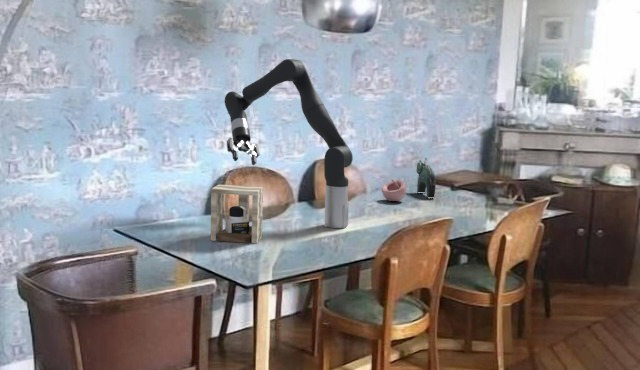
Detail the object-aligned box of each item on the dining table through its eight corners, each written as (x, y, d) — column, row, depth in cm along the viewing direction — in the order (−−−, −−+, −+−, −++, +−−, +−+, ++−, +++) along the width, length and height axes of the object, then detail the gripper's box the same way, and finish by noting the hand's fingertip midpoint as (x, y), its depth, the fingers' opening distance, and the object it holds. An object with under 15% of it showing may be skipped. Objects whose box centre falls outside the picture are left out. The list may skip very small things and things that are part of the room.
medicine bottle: (231, 241, 259) (231, 209, 257) (224, 236, 266) (225, 205, 264) (249, 239, 263) (249, 208, 261) (242, 235, 269) (243, 204, 267)
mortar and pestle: (376, 200, 347) (377, 178, 345) (392, 198, 355) (393, 176, 353) (394, 205, 338) (395, 181, 336) (410, 202, 346) (411, 179, 344)
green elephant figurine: (414, 192, 374) (416, 155, 370) (425, 192, 375) (427, 155, 372) (426, 199, 355) (428, 160, 351) (438, 199, 356) (440, 160, 352)
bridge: (217, 234, 270) (218, 184, 266) (262, 236, 268) (263, 186, 265) (210, 240, 260) (211, 189, 257) (256, 243, 258) (257, 191, 255)
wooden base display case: (229, 229, 278) (230, 192, 275) (259, 230, 276) (259, 193, 274) (217, 240, 259) (217, 201, 256) (249, 242, 258) (249, 203, 255)
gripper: (230, 122, 292) (234, 153, 283) (259, 129, 300) (264, 160, 291) (221, 132, 297) (225, 163, 288) (250, 139, 305) (255, 170, 296)
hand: (245, 162), depth 290 cm, fingers open, 8 cm apart
